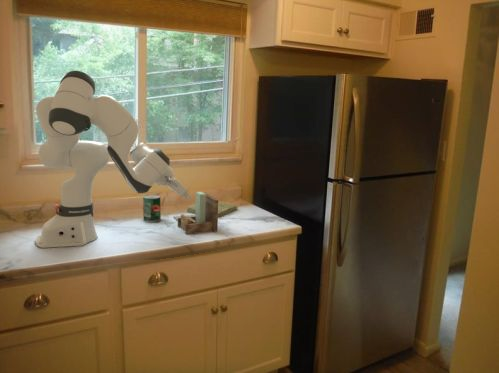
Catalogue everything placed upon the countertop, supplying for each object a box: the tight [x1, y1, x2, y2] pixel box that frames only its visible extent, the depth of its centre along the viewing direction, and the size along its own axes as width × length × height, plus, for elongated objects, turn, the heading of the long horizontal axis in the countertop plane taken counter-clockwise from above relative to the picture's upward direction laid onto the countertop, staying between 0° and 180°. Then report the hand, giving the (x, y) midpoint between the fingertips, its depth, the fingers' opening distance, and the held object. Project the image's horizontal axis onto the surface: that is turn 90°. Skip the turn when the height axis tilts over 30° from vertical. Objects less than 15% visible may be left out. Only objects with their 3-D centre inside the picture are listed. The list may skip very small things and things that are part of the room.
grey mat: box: [173, 214, 196, 222], centre depth 204 cm, size 12×12×1 cm
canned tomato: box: [142, 194, 162, 222], centre depth 202 cm, size 8×8×11 cm
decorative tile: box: [186, 200, 238, 218], centre depth 222 cm, size 19×20×4 cm
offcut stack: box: [180, 214, 196, 231], centre depth 189 cm, size 4×8×6 cm, turn 27°
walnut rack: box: [177, 192, 219, 235], centre depth 190 cm, size 14×14×14 cm
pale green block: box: [195, 191, 206, 223], centre depth 190 cm, size 3×5×16 cm, turn 27°
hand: (185, 196), depth 185 cm, fingers open, 8 cm apart
